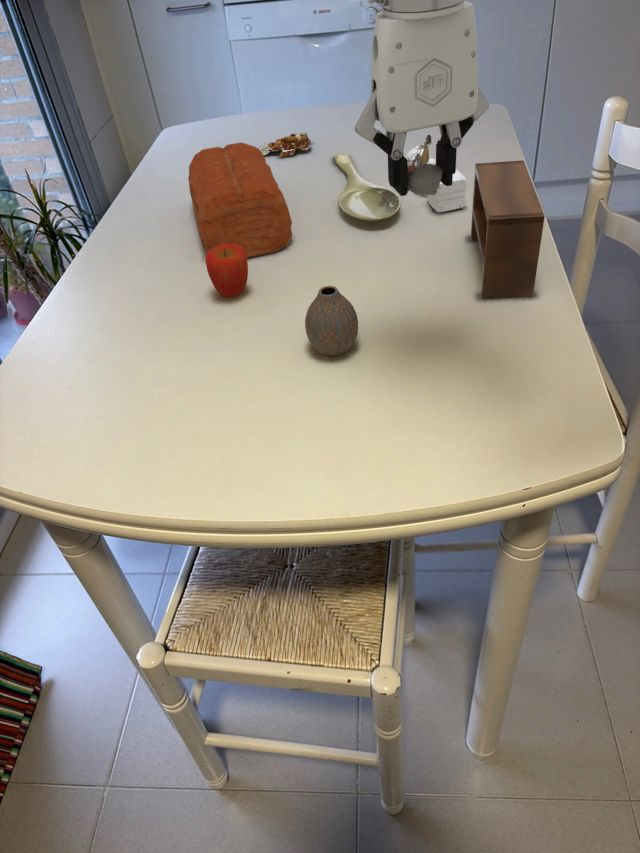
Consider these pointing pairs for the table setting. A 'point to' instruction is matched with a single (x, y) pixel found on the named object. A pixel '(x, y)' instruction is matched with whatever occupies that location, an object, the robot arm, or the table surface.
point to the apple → (227, 269)
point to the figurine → (423, 173)
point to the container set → (444, 188)
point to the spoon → (365, 195)
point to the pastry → (288, 144)
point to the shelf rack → (506, 228)
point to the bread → (238, 200)
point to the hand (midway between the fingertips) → (421, 184)
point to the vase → (331, 322)
